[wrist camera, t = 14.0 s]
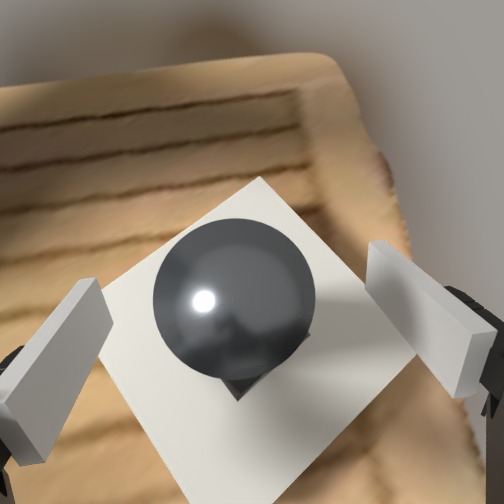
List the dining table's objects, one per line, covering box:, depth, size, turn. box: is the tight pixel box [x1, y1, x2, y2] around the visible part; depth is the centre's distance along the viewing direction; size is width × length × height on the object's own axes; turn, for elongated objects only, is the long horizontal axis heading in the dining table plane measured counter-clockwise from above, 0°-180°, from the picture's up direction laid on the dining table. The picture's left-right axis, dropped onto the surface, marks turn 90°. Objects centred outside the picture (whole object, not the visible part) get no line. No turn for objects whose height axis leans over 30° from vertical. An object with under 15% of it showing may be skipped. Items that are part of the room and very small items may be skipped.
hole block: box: [98, 176, 417, 504], centre depth 20 cm, size 15×15×5 cm
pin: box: [153, 218, 316, 380], centre depth 14 cm, size 4×4×15 cm
